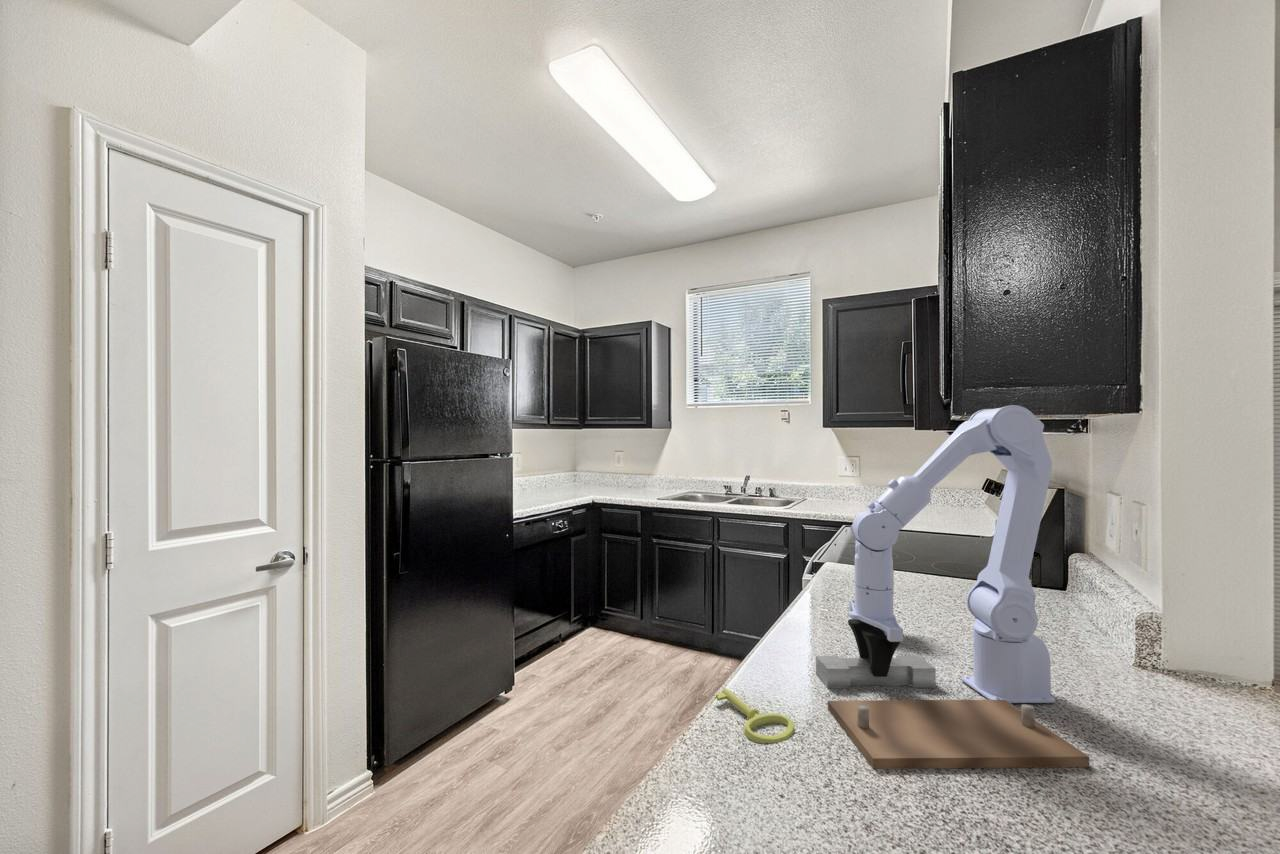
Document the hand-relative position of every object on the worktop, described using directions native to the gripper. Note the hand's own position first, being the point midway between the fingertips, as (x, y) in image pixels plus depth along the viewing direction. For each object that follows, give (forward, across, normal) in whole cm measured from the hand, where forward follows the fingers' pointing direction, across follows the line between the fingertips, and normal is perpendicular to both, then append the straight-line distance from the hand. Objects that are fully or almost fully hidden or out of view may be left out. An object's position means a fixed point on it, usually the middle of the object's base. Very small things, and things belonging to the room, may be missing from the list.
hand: (874, 670), depth 86 cm
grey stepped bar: (+2, 0, 0) cm, 2 cm away
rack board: (+2, +16, +2) cm, 16 cm away
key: (+2, +12, -23) cm, 26 cm away
